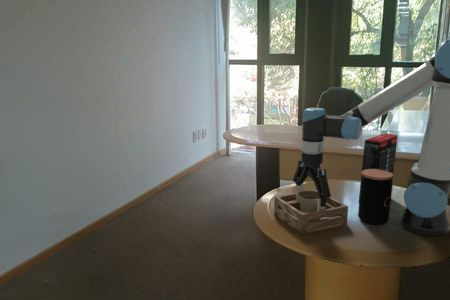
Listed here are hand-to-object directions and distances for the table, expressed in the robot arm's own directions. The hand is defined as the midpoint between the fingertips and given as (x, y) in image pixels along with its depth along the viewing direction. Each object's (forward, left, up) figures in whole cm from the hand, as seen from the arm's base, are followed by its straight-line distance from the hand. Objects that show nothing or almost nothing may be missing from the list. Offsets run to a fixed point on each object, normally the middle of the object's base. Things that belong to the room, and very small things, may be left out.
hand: (309, 207), depth 146 cm
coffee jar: (-10, -21, -5) cm, 24 cm away
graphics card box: (+4, -35, -5) cm, 36 cm away
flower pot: (0, 0, -4) cm, 4 cm away
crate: (0, 0, -4) cm, 4 cm away
